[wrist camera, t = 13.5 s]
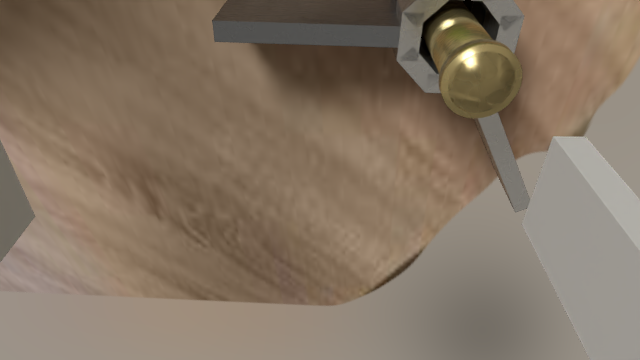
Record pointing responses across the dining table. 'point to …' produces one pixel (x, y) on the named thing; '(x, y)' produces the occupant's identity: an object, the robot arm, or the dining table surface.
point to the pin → (470, 63)
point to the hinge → (381, 31)
